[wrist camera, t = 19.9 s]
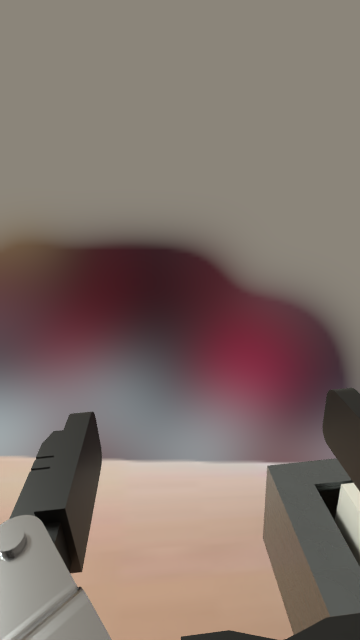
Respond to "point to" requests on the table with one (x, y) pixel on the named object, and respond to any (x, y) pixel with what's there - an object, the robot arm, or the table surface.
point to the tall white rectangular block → (349, 517)
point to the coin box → (309, 542)
